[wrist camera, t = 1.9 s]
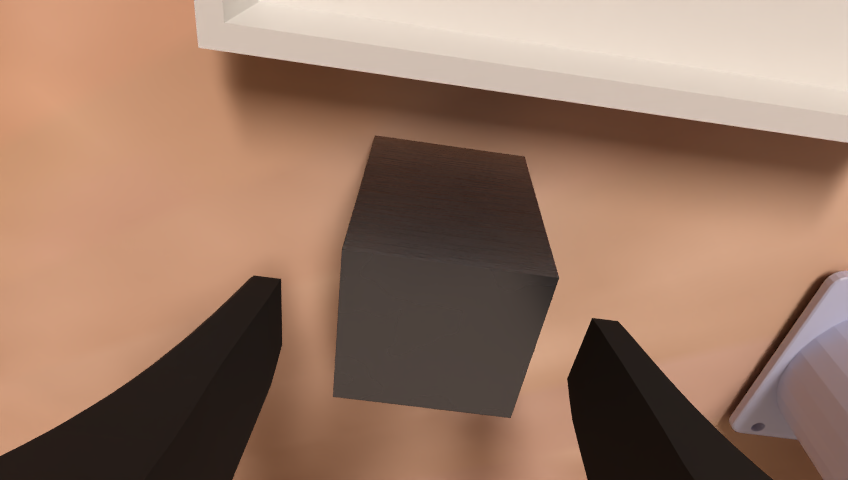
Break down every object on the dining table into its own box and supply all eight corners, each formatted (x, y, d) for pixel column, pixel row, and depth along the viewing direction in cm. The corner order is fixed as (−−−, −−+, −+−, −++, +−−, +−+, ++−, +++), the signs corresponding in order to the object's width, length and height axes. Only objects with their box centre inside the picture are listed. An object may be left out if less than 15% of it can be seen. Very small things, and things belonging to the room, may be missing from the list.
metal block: (524, 156, 16) (558, 277, 11) (493, 274, 19) (510, 418, 14) (375, 135, 16) (341, 249, 11) (364, 257, 18) (332, 396, 13)
